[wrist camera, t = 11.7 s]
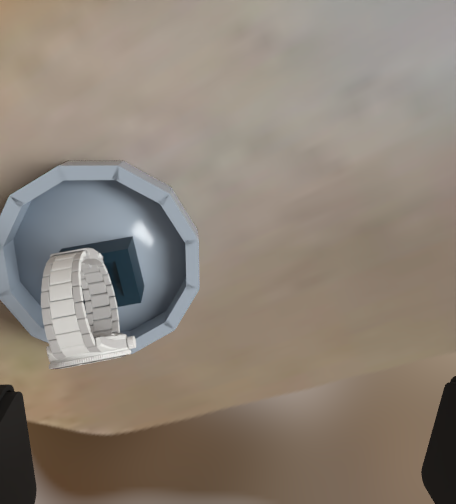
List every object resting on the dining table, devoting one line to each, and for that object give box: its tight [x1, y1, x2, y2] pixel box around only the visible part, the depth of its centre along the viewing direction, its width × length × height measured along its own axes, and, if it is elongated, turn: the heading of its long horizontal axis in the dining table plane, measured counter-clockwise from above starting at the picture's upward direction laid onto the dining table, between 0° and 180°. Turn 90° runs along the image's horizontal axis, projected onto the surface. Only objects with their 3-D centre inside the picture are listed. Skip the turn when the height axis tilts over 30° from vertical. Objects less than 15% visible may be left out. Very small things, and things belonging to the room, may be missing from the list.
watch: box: [41, 236, 145, 369], centre depth 28 cm, size 6×8×11 cm
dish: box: [0, 161, 199, 354], centre depth 33 cm, size 15×15×3 cm
